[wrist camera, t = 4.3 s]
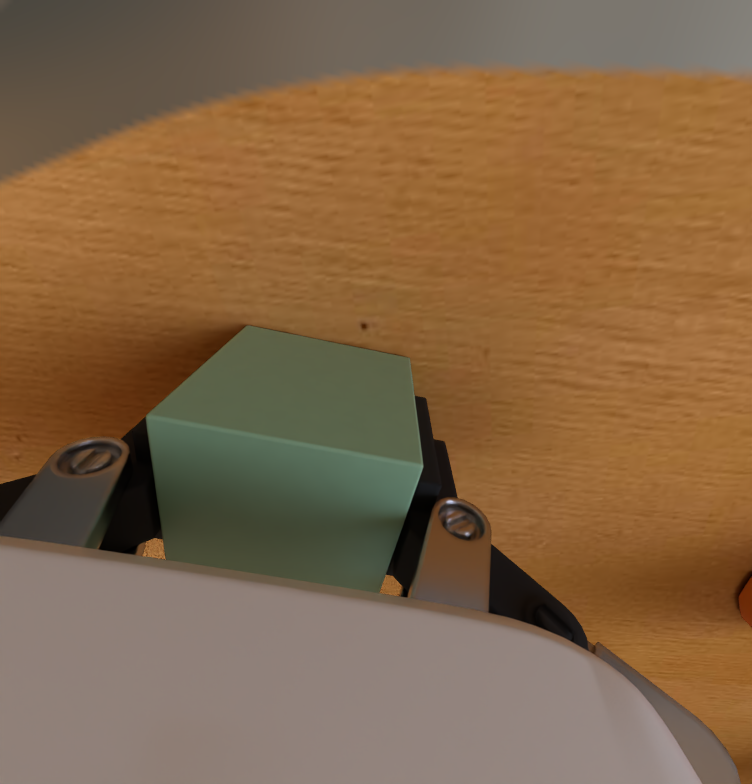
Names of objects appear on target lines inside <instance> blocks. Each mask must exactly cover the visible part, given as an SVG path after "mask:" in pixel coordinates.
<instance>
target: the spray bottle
mask: <svg viewBox="0 0 752 784" xmlns="http://www.w3.org/2000/svg"><path fill="white" fill-rule="evenodd" d="M739 606H740V613H741V616H742V618H743V619H744V620H745V621H746V622H747V623H748V624H749V625H750V626H751V627H752V576H751V578H750V579H749V581H748V582H747V584H746V585H745V587H744V589H743V590H742V592H741V593H740V595H739Z"/></svg>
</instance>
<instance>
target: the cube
mask: <svg viewBox="0 0 752 784" xmlns="http://www.w3.org/2000/svg"><path fill="white" fill-rule="evenodd" d="M146 425H147V432H148V439H149V446H150V453H151V460H152V467H153V474H154V481H155V488H156V495H157V502H158V509H159V516H160V523H161V530H162V537H163V544H164V551H165V558H166V560H171V561H177V562H184V563H190V564H197V565H203V566H210V567H216V568H223V569H229V570H236V571H242V572H249V573H255V574H262V575H268V576H274V577H281V578H287V579H294V580H300V581H306V582H313V583H319V584H325V585H331V586H338V587H344V588H350V589H356V590H362V591H369V592H375V593H379V592H380V589H381V587H382V584H383V581H384V578H385V575H386V572H387V569H388V567H389V564H390V561H391V558H392V555H393V552H394V549H395V547H396V544H397V541H398V538H399V535H400V532H401V529H402V527H403V524H404V521H405V518H406V515H407V512H408V509H409V507H410V504H411V501H412V498H413V495H414V492H415V489H416V487H417V484H418V481H419V478H420V475H421V472H422V469H423V459H422V451H421V443H420V435H419V427H418V419H417V411H416V403H415V395H414V388H413V380H412V372H411V364H410V358H408V357H403V356H398V355H393V354H388V353H383V352H378V351H373V350H368V349H363V348H358V347H353V346H348V345H343V344H338V343H333V342H328V341H324V340H319V339H314V338H309V337H304V336H299V335H294V334H289V333H284V332H279V331H274V330H269V329H264V328H259V327H254V326H249V325H247V326H245V327H244V328H243V329H242V330H241V331H240V332H239V333H238V334H237V335H235V336H234V337H233V338H232V339H231V340H230V341H229V342H228V343H226V344H225V345H224V346H223V347H222V348H221V349H220V350H219V351H217V352H216V353H215V354H214V355H213V356H212V357H211V358H210V359H208V360H207V361H206V362H205V363H204V364H203V365H202V366H201V367H199V368H198V369H197V370H196V371H195V372H194V373H193V374H192V375H190V376H189V377H188V378H187V379H186V380H185V381H184V382H183V383H181V384H180V385H179V386H178V387H177V388H176V389H175V390H174V391H172V392H171V393H170V394H169V395H168V396H167V397H166V398H165V399H164V400H162V401H161V402H160V403H159V404H158V405H157V406H156V407H155V408H153V409H152V410H151V411H150V412H149V413H148V414H147V415H146Z"/></svg>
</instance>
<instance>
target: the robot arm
mask: <svg viewBox="0 0 752 784" xmlns="http://www.w3.org/2000/svg"><path fill="white" fill-rule="evenodd" d="M415 403H416V411H417V419H418V427H419V435H420V443H421V451H422V459H423V469H422V472H421V475H420V478H419V481H418V484H417V487H416V489H415V492H414V495H413V498H412V501H411V504H410V507H409V509H408V512H407V515H406V518H405V521H404V524H403V527H402V529H401V532H400V535H399V538H398V541H397V544H396V547H395V549H394V552H393V555H392V558H391V561H390V564H389V567H388V569H387V572H386V575H391V576H394V577H395V578H396V580H397V581H398V582H399V583H400V584H401V585H402V587H401V590H400V594H399V596H394V595H387V594H381V593H375V592H369V591H362V590H356V589H350V588H344V587H338V586H331V585H325V584H319V583H313V582H306V581H300V580H294V579H287V578H281V577H274V576H268V575H262V574H255V573H249V572H242V571H236V570H229V569H223V568H216V567H210V566H203V565H197V564H190V563H184V562H177V561H171V560H164V559H158V558H151V557H144V556H142V555H143V552H144V549H145V544H146V541H149V540H151V539H153V538H158V539H163V537H162V530H161V523H160V516H159V509H158V502H157V495H156V488H155V481H154V474H153V467H152V460H151V453H150V446H149V439H148V432H147V425H146V417H145V418H144V419H143V420H141V421H140V422H139V423H138V424H137V425H136V426H135V427H134V428H133V429H131V430H130V431H129V432H128V433H127V434H126V435H125V436H124V437H123V438H121V439H117V438H114V437H104V436H103V437H91V438H86V439H82V440H78V441H75V442H73V443H70V444H67V445H66V446H64V447H62V448H60V449H59V450H57V451H56V452H55V453H54V454H53V455H52V456H51V457H50V458H49V459H48V461H47V462H46V463H45V465H44V466H43V467H42V468H41V470H40V471H39V472H38V474H36V475H32V476H29V477H25V478H21V479H17V480H14V481H10V482H6V483H3V484H0V784H741V782H740V779H739V775H738V772H737V768H736V766H735V764H734V762H733V760H732V759H731V757H730V755H729V753H728V751H727V750H726V748H725V747H724V745H723V744H722V743H721V742H720V740H719V739H718V738H717V737H716V735H715V734H714V733H713V732H712V731H711V730H710V729H709V728H708V727H707V726H706V725H705V724H704V723H703V722H702V721H701V720H699V719H698V718H697V717H696V716H695V715H693V714H692V713H691V712H690V711H688V710H687V709H686V708H684V707H683V706H682V705H680V704H679V703H678V702H676V701H675V700H674V699H673V698H671V697H670V696H669V695H667V694H666V693H665V692H663V691H662V690H661V689H659V688H658V687H657V686H655V685H654V684H653V683H652V682H650V681H649V680H648V679H646V678H645V677H644V676H642V675H641V674H640V673H638V672H637V671H636V670H635V669H633V668H632V667H631V666H629V665H628V664H627V663H625V662H624V661H623V660H621V659H620V658H619V657H618V656H616V655H615V654H614V653H612V652H611V651H610V650H608V649H607V648H606V647H604V646H603V645H602V644H601V643H599V642H597V643H596V644H595V645H593V644H591V643H590V642H589V641H587V637H586V635H585V633H584V631H583V629H582V626H581V625H580V623H579V622H578V621H577V619H576V618H575V616H574V615H573V614H572V613H571V612H570V611H569V610H568V609H567V608H566V607H565V606H564V605H563V604H562V603H561V602H559V601H558V600H557V599H556V598H555V597H553V596H552V595H551V594H550V593H549V592H548V591H546V590H545V589H544V588H543V587H542V586H540V585H539V584H538V583H537V582H536V581H535V580H533V579H532V578H531V577H530V576H529V575H527V574H526V573H525V572H524V571H523V570H522V569H520V568H519V567H518V566H517V565H516V564H514V563H513V562H512V561H511V560H510V559H509V558H507V557H506V556H505V555H504V554H503V553H501V552H500V551H499V550H498V549H497V548H496V547H494V546H493V545H492V544H491V526H490V523H489V521H488V519H487V517H486V516H485V515H484V514H483V513H482V511H481V510H480V509H478V508H477V507H476V506H474V505H473V504H471V503H469V502H467V501H465V500H463V499H459V498H457V493H456V489H455V484H454V480H453V475H452V471H451V467H450V462H449V458H448V453H447V449H446V445H445V442H444V441H440V440H435V439H433V434H432V428H431V423H430V417H429V412H428V406H427V401H426V398H423V397H418V396H415Z"/></svg>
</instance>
